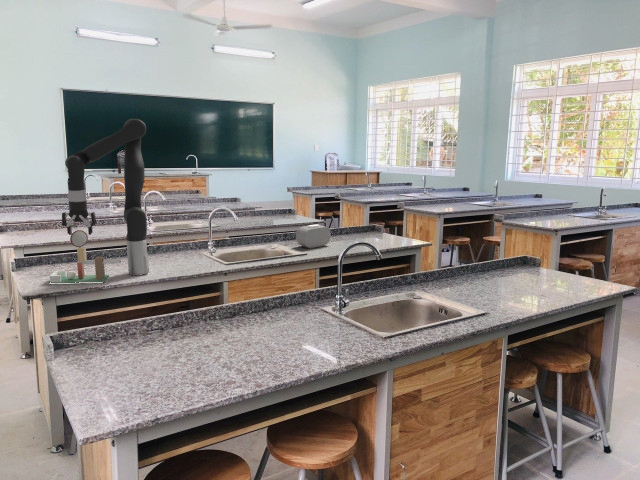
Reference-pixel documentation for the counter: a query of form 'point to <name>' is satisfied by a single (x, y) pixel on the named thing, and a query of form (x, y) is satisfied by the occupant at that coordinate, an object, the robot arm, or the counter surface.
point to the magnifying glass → (79, 238)
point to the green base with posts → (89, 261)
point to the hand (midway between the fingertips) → (80, 234)
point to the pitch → (99, 277)
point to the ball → (71, 274)
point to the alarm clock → (313, 236)
